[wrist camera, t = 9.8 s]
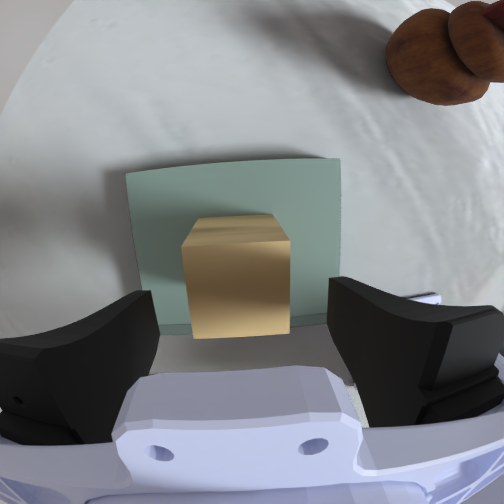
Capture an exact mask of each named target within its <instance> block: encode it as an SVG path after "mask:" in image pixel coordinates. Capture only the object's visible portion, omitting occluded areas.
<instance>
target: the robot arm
mask: <svg viewBox="0 0 504 504" xmlns="http://www.w3.org/2000/svg"><path fill="white" fill-rule="evenodd" d="M441 298H442V297H441V296H440V295H439V294H432V295H427V296H421V297H415V298H409V299H406V298H402V297H399V296H396V295H393V294H390V293H387V292H384V291H381V290H379V289H376V288H374V287H371V286H369V285H366V284H364V283H361V282H359V281H356V280H354V279H351V278H348V277H344V276H342V277H331V278H329V285H328V304H327V320H326V322H327V325H328V328H329V331H330V334H331V337H332V339H333V341H334V343H335V345H336V347H337V349H338V351H339V353H340V355H341V357H342V359H343V361H344V362H345V364H346V366H347V368H348V370H349V372H350V374H351V376H352V378H353V380H354V388H355V390H358V393H359V395H360V398H361V401H362V404H363V407H364V411H365V414H366V417H367V420H368V424H369V428H362V426H361V421H360V419H359V417H358V414H357V412H356V410H355V407H354V405H353V403H352V401H351V398H350V396H349V394H348V392H347V389H346V387H345V385H344V383H343V380H342V379H341V378H339V377H338V376H336V375H335V374H333V373H332V372H330V371H329V370H327V369H326V368H324V367H311V366H299V365H294V366H284V367H275V368H264V369H251V370H236V371H216V372H165V373H160V374H155V375H150V376H148V374H149V371H150V369H151V366H152V363H153V360H154V358H155V355H156V352H157V347H158V342H159V337H160V330H159V326H158V321H157V317H156V312H155V308H154V303H153V298H152V293H151V290H142V291H135V292H132V293H130V294H128V295H126V296H124V297H122V298H121V299H119V300H117V301H115V302H114V303H112V304H110V305H108V306H107V307H105V308H103V309H101V310H99V311H97V312H95V313H93V314H92V315H90V316H88V317H86V318H84V319H81V320H79V321H77V322H74V323H72V324H69V325H67V326H64V327H60V328H57V329H54V330H51V331H47V332H44V333H39V334H35V335H29V336H24V337H15V338H4V339H0V407H1V409H2V412H1V413H0V499H1V500H2V501H4V502H6V503H7V504H504V358H503V356H501V355H500V354H499V351H500V349H501V346H502V344H503V341H504V315H503V313H502V312H501V311H499V310H498V309H496V308H495V307H494V306H491V305H486V306H445V305H440V304H441Z"/></svg>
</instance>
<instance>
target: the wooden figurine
mask: <svg viewBox="0 0 504 504" xmlns="http://www.w3.org/2000/svg"><path fill="white" fill-rule="evenodd" d="M386 63H387V65H388V68H389V71H390V73H391V74H392V76H393V78H394V79H395V81H396V82H397V83H398V85H399V86H400V87H401V88H402V89H403V90H404V91H406V92H407V93H408V94H410V95H411V96H412V97H414V98H416V99H419V100H422V101H425V102H428V103H431V104H435V105H444V106H448V105H457V104H462V103H468V102H473V101H475V100H477V99H479V98H481V97H482V96H483V95H484V94H485V92H486V91H487V90H488V87H489V84H490V82H498V83H504V0H500V1H497V2H495V3H492V4H487V3H484V2H481V1H471V2H467V3H465V4H462V5H460V6H459V7H457V8H455V9H454V10H453V11H452V12H451V13H449V12H447V11H445V10H442V9H433V8H430V9H424V10H421V11H419V12H417V13H416V14H414V15H412V16H411V17H409V18H408V19H406V20H405V21H404V22H403V23H402V24H401V25H399V27H398V28H397V29H396V31H395V32H394V33H393V35H392V37H391V38H390V40H389V42H388V44H387V47H386Z"/></svg>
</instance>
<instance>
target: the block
mask: <svg viewBox="0 0 504 504" xmlns="http://www.w3.org/2000/svg"><path fill="white" fill-rule="evenodd" d="M181 250H182V259H183V267H184V275H185V283H186V291H187V298H188V305H189V312H190V319H191V325H192V332H193V338H194V339H205V338H230V337H248V336H264V335H277V334H289V332H290V239H289V238H288V236H287V235H286V233H285V232H284V231H283V229H282V228H281V226H280V225H279V223H278V222H277V220H276V219H275V217H274V216H273V214H265V215H244V216H226V217H210V218H198V220H197V221H196V223H195V224H194V226H193V228H192V229H191V231H190V233H189V234H188V236H187V238H186V239H185V241H184V243H183V244H182V246H181Z"/></svg>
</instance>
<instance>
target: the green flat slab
mask: <svg viewBox="0 0 504 504" xmlns="http://www.w3.org/2000/svg"><path fill="white" fill-rule="evenodd" d="M125 176H126V186H127V195H128V204H129V212H130V219H131V227H132V233H133V240H134V246H135V252H136V258H137V264H138V269H139V275H140V280H141V285H142V290H151V293H152V298H153V303H154V308H155V312H156V317H157V321H158V326H159V330H160V335H181V334H193V332H192V325H191V319H190V312H189V305H188V298H187V291H186V283H185V275H184V267H183V259H182V250H181V246H182V244H183V243H184V241H185V239H186V238H187V236H188V234H189V233H190V231H191V229H192V228H193V226H194V224H195V223H196V221H197V220H198V218H210V217H226V216H244V215H265V214H273V216H274V217H275V219H276V220H277V222H278V223H279V225H280V226H281V228H282V229H283V231H284V232H285V233H286V235H287V236H288V238H289V239H290V327H299V326H308V325H317V324H325V323H327V322H326V320H327V304H328V285H329V278H331V277H339V269H340V241H341V168H340V159H334V158H313V159H272V160H251V161H235V162H221V163H209V164H198V165H188V166H178V167H169V168H161V169H153V170H146V171H139V172H132V173H125Z"/></svg>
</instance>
